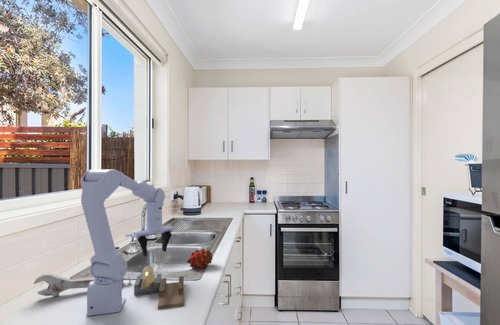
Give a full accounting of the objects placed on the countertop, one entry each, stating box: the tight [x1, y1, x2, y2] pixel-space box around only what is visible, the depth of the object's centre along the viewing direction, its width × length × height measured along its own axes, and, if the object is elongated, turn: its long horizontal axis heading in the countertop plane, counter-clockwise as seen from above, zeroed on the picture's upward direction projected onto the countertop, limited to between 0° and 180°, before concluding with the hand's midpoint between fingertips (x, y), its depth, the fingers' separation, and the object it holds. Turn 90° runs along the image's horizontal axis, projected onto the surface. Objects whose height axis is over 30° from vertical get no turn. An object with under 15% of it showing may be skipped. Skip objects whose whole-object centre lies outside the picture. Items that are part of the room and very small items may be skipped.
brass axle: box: [142, 265, 156, 290], centre depth 100 cm, size 12×4×4 cm, turn 21°
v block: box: [133, 273, 162, 296], centre depth 99 cm, size 8×8×4 cm
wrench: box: [33, 272, 132, 298], centre depth 98 cm, size 8×2×30 cm
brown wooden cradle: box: [157, 276, 185, 310], centre depth 94 cm, size 8×16×3 cm, turn 14°
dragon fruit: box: [186, 247, 214, 269], centre depth 119 cm, size 8×8×12 cm
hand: (154, 253), depth 107 cm, fingers open, 7 cm apart
